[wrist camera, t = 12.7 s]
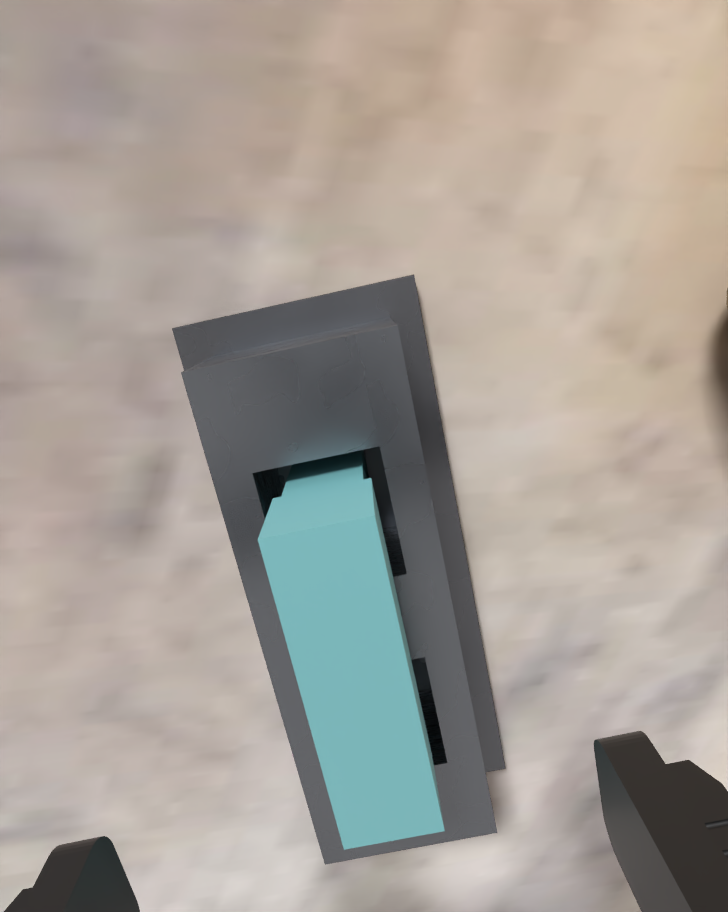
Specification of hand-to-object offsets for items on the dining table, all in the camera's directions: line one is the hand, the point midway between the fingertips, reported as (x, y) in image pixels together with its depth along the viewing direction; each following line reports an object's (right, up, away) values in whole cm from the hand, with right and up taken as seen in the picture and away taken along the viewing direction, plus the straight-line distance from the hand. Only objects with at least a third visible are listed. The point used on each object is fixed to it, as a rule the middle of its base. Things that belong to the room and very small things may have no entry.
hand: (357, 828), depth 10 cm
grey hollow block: (0, +2, +10) cm, 11 cm away
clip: (0, +3, +10) cm, 10 cm away
